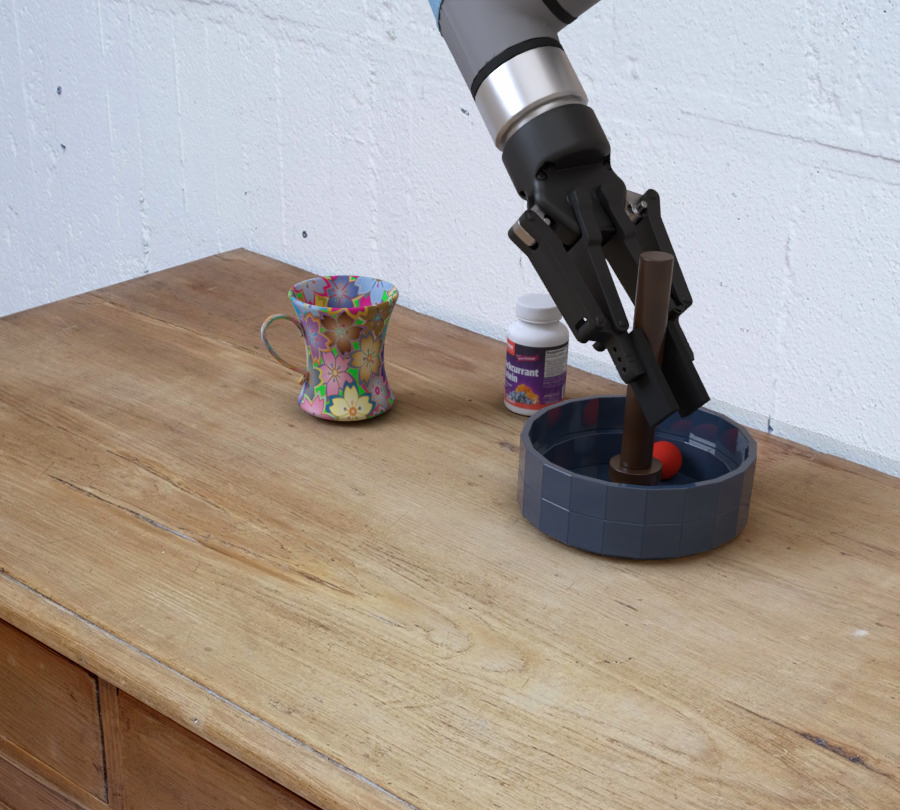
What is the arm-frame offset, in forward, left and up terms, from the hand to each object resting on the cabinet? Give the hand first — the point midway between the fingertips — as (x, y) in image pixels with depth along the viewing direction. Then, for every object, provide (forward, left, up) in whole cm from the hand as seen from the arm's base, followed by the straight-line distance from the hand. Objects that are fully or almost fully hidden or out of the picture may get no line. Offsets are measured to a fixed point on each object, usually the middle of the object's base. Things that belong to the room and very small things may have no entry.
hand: (680, 413), depth 94 cm
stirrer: (+2, -3, -7) cm, 8 cm away
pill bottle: (+6, -23, -9) cm, 25 cm away
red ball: (-1, -6, -7) cm, 9 cm away
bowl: (+2, -2, -9) cm, 9 cm away
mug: (+24, -23, -9) cm, 35 cm away
